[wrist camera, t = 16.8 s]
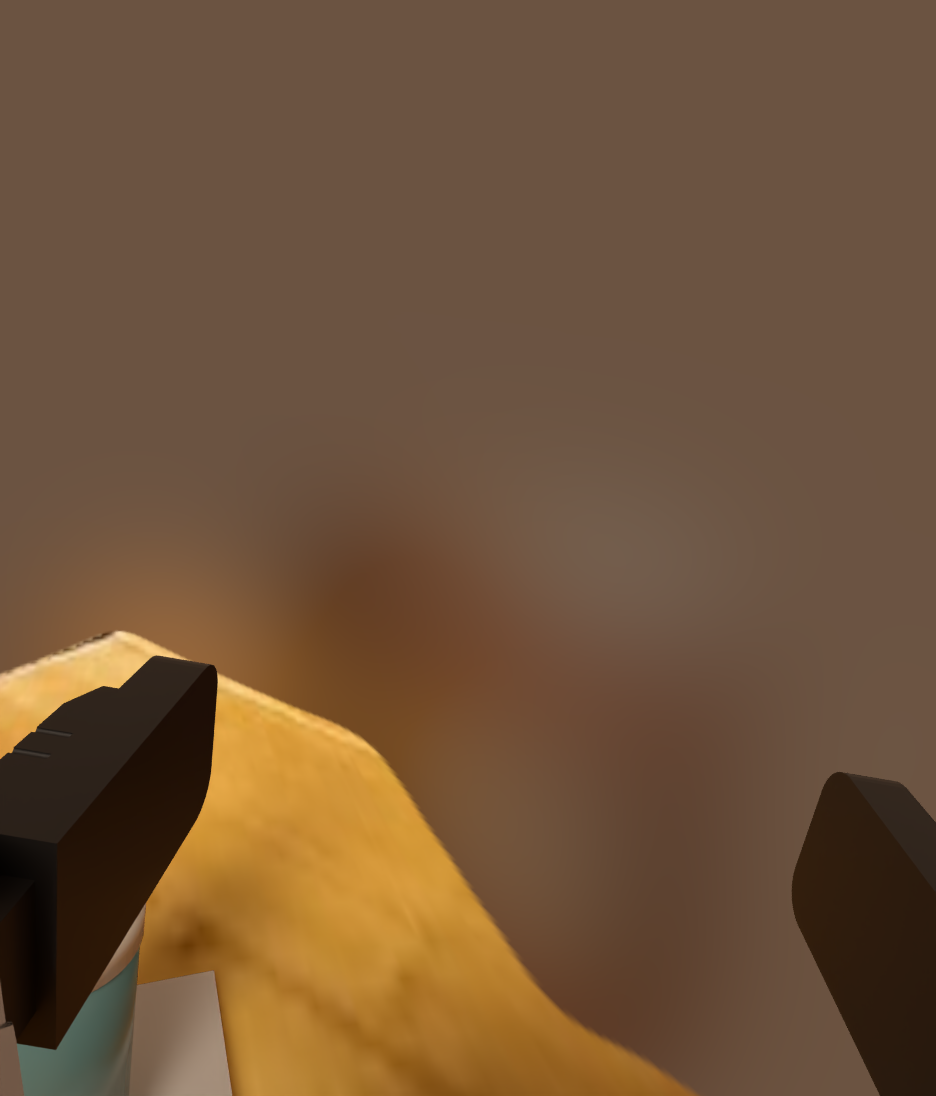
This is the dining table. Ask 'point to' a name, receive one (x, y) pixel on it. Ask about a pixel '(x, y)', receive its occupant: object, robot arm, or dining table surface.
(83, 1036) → the canister
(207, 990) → the pad
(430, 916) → the dining table surface
